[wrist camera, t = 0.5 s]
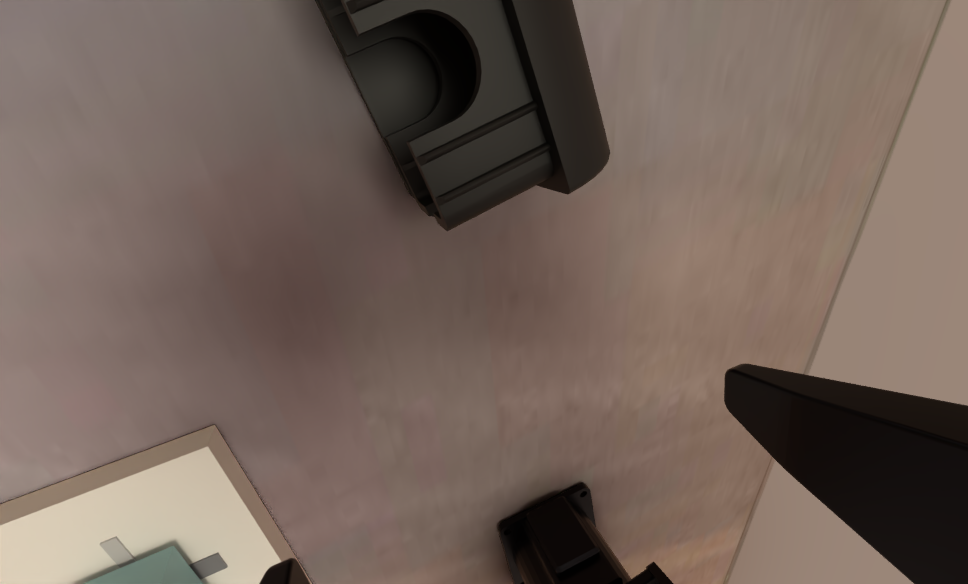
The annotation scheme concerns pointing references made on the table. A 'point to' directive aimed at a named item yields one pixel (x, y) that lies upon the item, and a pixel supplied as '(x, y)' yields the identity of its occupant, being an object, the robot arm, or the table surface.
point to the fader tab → (153, 571)
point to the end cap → (474, 96)
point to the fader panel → (144, 519)
